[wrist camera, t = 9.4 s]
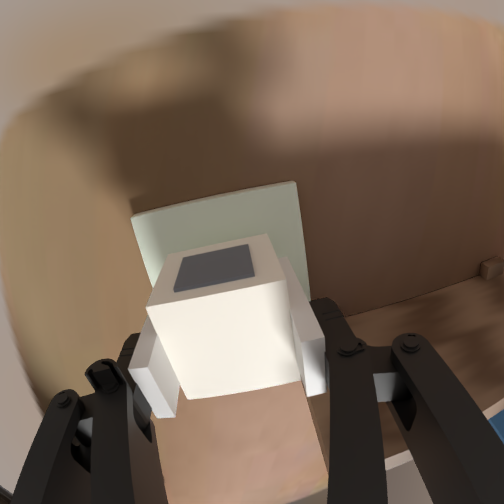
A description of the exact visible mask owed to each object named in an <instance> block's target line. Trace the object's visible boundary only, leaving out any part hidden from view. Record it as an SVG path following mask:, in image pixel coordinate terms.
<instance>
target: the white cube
mask: <svg viewBox="0 0 504 504" xmlns="http://www.w3.org/2000/svg"><path fill="white" fill-rule="evenodd" d="M290 309H291V306H290V300H289V293H288V287H287V280H286V277H285V275H284V272H283V270H282V268H281V265H280V263H279V260H278V258H277V256H276V253H275V251H274V249H273V246H272V244H271V241H270V239H269V237H268V234H267V233H266V234H261V235H256V236H251V237H247V238H242V239H237V240H232V241H228V242H223V243H218V244H213V245H209V246H204V247H199V248H195V249H190V250H186V251H181V252H176V253H172V254H168V255H167V258H166V260H165V262H164V265H163V267H162V269H161V271H160V274H159V276H158V278H157V281H156V283H155V285H154V288H153V290H152V293H151V295H150V297H149V300H148V302H147V305H146V310H147V312H148V315H149V317H150V320H151V322H152V324H153V327H154V329H155V331H156V334H158V336H159V338H160V341H161V343H162V345H163V348H164V350H165V352H166V354H167V357H168V359H169V361H170V363H171V365H172V368H173V370H174V372H175V374H176V376H177V378H178V380H179V382H180V385H181V387H182V389H183V391H184V393H185V395H186V397H187V399H188V400H190V399H199V398H207V397H214V396H221V395H228V394H234V393H240V392H246V391H251V390H257V389H262V388H267V387H272V386H277V385H282V384H286V383H291V382H295V381H299V380H301V377H300V372H299V368H298V365H297V359H296V351H295V344H294V336H293V329H292V322H291V315H290Z"/></svg>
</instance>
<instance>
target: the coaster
mask: <svg viewBox="0 0 504 504" xmlns="http://www.w3.org/2000/svg"><path fill="white" fill-rule="evenodd" d="M131 222H132V225H133V229H134V232H135V235H136V239H137V242H138V245H139V248H140V251H141V254H142V258H143V261H144V264H145V267H146V270H147V273H148V276H149V278H150V281H151V284H152V287H153V288H154V285H155V283H156V281H157V278H158V276H159V274H160V271H161V269H162V267H163V265H164V262H165V260H166V258H167V255H168V254H172V253H176V252H181V251H186V250H190V249H195V248H199V247H204V246H209V245H213V244H218V243H223V242H228V241H232V240H237V239H242V238H247V237H251V236H256V235H261V234H266V233H267V234H268V237H269V239H270V241H271V244H272V246H273V249H274V251H275V253H276V256H277V258H282V257H288V259H289V261H290V264H291V266H292V268H293V270H294V272H295V274H296V276H297V278H298V280H299V282H300V285H301V287H302V289H303V291H304V293H305V295H306V297H307V299H308V302H309V301H311V297H310V287H309V278H308V269H307V261H306V252H305V244H304V237H303V229H302V221H301V214H300V207H299V200H298V193H297V186H296V182H294V181H287V182H281V183H275V184H270V185H265V186H259V187H254V188H249V189H244V190H239V191H234V192H229V193H224V194H219V195H214V196H209V197H205V198H200V199H196V200H191V201H187V202H182V203H178V204H174V205H170V206H165V207H161V208H157V209H153V210H149V211H145V212H141V213H137V214H134V215H133V216H132V217H131Z"/></svg>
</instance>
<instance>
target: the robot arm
mask: <svg viewBox="0 0 504 504" xmlns="http://www.w3.org/2000/svg"><path fill="white" fill-rule="evenodd" d="M278 260H279V263H280V265H281V268H282V270H283V272H284V275H285V277H286V280H287V287H288V293H289V300H290V306H291V309H290V315H291V322H292V329H293V336H294V344H295V351H296V359H297V365H298V368H299V372H300V375H301V378H302V382H303V385H304V389H305V392H306V395H307V397H310V396H314V395H318V394H322V393H326V392H327V386H328V388H329V391H330V449H329V479H328V498H327V504H388V497H387V481H386V469H385V457H384V448H383V439H382V430H381V422H380V415H379V408H378V402H386V404H387V406H388V408H389V410H390V412H391V414H392V416H393V418H394V420H395V422H396V424H397V426H398V428H399V430H400V432H401V434H402V436H403V438H404V440H405V442H406V445H407V447H408V449H409V451H410V453H411V455H412V457H413V459H414V461H415V464H416V466H417V468H418V470H419V472H420V474H421V476H422V479H423V481H424V483H425V485H426V488H427V490H428V492H429V495H430V497H431V499H432V502H433V504H504V444H503V442H502V441H501V439H500V437H499V436H498V434H497V433H496V431H495V430H494V428H493V427H492V426H491V424H490V423H489V421H488V420H487V418H486V417H485V415H484V414H483V412H482V411H481V410H480V408H479V407H478V405H477V404H476V403H475V401H474V400H473V398H472V397H471V396H470V394H469V393H468V392H467V390H466V389H465V388H464V386H463V385H462V384H461V382H460V381H459V380H458V378H457V377H456V376H455V374H454V373H453V372H452V370H451V369H450V368H449V366H448V365H447V364H446V363H445V361H444V360H443V359H442V358H441V356H440V355H439V354H438V352H437V351H436V350H435V349H434V347H433V346H432V345H431V344H430V343H429V341H428V340H427V339H426V338H425V337H423V336H422V335H419V334H417V333H404V334H401V335H399V336H397V337H396V338H395V339H394V340H393V342H392V346H379V347H378V346H369V345H367V344H366V342H364V341H363V340H362V339H360V338H356V336H355V335H354V333H353V331H352V330H351V328H350V326H349V325H348V323H347V321H346V320H345V318H344V317H343V314H342V313H341V311H340V309H339V308H338V306H337V304H336V303H335V302H334V301H332V300H330V299H329V298H327V297H326V298H322V299H317V300H313V301H309V302H308V299H307V297H306V295H305V293H304V291H303V289H302V287H301V285H300V282H299V280H298V278H297V276H296V274H295V272H294V270H293V268H292V266H291V264H290V261H289V259H288V257H282V258H278ZM119 356H120V357H118V360H117V362H115V361H114V360H112V359H101V360H99V361H96V362H95V363H93V364H92V365H90V366H89V367H88V369H87V370H86V372H85V376H86V377H87V379H88V381H89V382H90V384H91V385H92V387H93V388H94V390H95V393H93V394H89V395H86V396H82V397H79V395H78V394H77V392H75V391H74V390H71V389H68V390H63V391H61V392H59V393H58V394H57V395H55V396H54V398H53V399H52V401H51V403H50V405H49V407H48V409H47V411H46V414H45V416H44V418H43V420H42V422H41V425H40V427H39V429H38V431H37V434H36V436H35V438H34V441H33V443H32V446H31V448H30V450H29V453H28V455H27V458H26V460H25V463H24V466H23V468H22V471H21V474H20V477H19V479H18V482H17V485H16V488H15V490H14V493H13V494H12V493H10V492H9V491H8V490H6V489H5V488H3V487H2V486H1V485H0V504H168V500H167V495H166V491H165V486H164V477H163V475H162V470H161V464H160V459H159V453H158V446H157V440H156V433H155V426H154V424H153V422H152V420H151V419H150V416H151V411H153V412H154V414H155V415H156V417H157V418H171V417H176V409H177V401H178V394H179V386H180V382H179V380H178V378H177V376H176V374H175V372H174V370H173V368H172V365H171V363H170V361H169V359H168V357H167V354H166V352H165V350H164V348H163V345H162V343H161V341H160V338H159V336H158V334H156V331H155V329H154V327H153V324H152V322H151V320H150V317H149V315H147V318H146V320H145V323H144V326H143V328H142V331H141V333H135V334H131V335H130V336H129V338H128V339H127V340H126V341H125V343H124V345H123V347H122V351H121V352H120V355H119Z"/></svg>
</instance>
